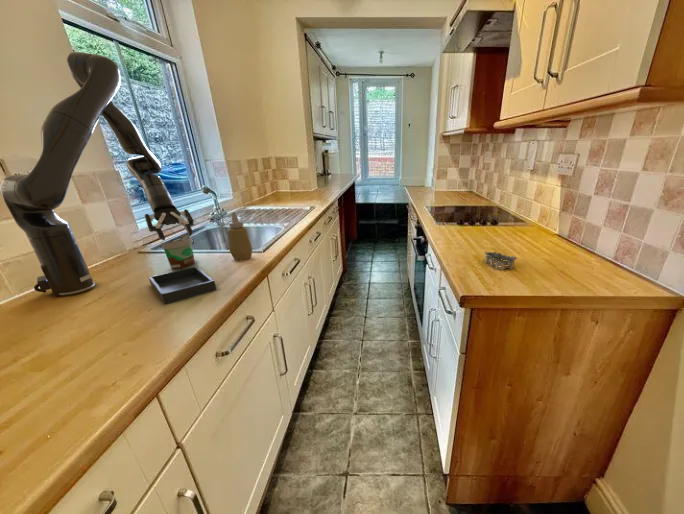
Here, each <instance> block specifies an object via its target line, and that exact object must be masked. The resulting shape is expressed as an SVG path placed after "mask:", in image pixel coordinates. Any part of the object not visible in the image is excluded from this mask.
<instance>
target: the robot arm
mask: <svg viewBox="0 0 684 514" xmlns="http://www.w3.org/2000/svg"><path fill="white" fill-rule="evenodd" d="M66 67H67V69H68V71H69V74H70V75H71V77H72V78H73V80H74V81H75V83H76V84H77V85H78V87H79V88H80V89H78V90H77V91H75V92H74V93H72V94H71V95H69V96H67V97H65V98H64V99H62V100H60V101H58V102H57V103H56V104H55V105H53V106H52V107H51V108H50V110H49V111H48V114H47V115H46V117H45V119H44V121H43V123H42V124H41V127H40V128H41V129H40V142H41V143H40V144H41V152H40V157H39V158H38V160H37V162H36V164H35V166H34V167H33V168H32V170H31V171H30V172H29V173H28V174H23V173H22V174H21V173H20V174H19V173H18V174H11V175H8V176H6V177H4V178H3V179H2V181H1V182H0V195H1V197H2V200H3V202H4V203H5V206H6V208H7V209H8V211H9V213H10V215H11V217H12V218H13V220H14V222H15V224H16V225H17V226H18V227H19V228H20V229H21V230H22V231H23V232H24V233H25V236H26V238H27V239H28V242H29V243H30V245H31V247H32V250H33V252H34V254H35V256H36V258H37V260H38V262H39V265H40V266H39V267H40V269H41V272H42V274H43V275H41V276H37V279H36V284H35V285H34V286H33V289H34V291H36V292H39V293H45V294H46V293H47V292H48V291H49V290H51V292H52V294H53V296H54V297H55V298H57V297H62V296H63V297H65V296H71V295H72V296H73V295H76V294H77V295H78V294H81V293H85V292H87V291H89V290H92V289H93V288H95V287H96V283H95V281H94V279H93V276H92V275H91V272H90V269H89V267H88V264H87V263H86V261H85V257H84V255H83V252H82V250H81V248H80V246H79V244H78V241H77V239H76V237H75V234H74V231H73V229H72V227H71V225H70V223H69V222H68V221H66V220H64V219H63V218H61V217H60V216H59V215H58V214H57V212H55V209H57V208H59V207H60V206H61V205H62V204H63V202H64V200H65V198H66V195H67V193H68V190H69V186H70V183H71V179H72V176H73V174H74V170H75V169H76V167H77V165H78V163H79V161H80V159H81V156H82V154H83V152H84V150H85V148H86V147H87V145H88V143H89V141H90V139H91V137H92V135H93V133H94V130H95V127H96V126H97V124H98V122H99V121H100V118H101V117H102V118H103V119H104V120H105V122H106V123H107V125H108V126H109V128H110V129H111V131H112V133H113V134H114V136H115V138H116V139H117V141H118V143H119V145H120V146H121V148H122V150H123V152H125V154H128V155H133V156H135V155H138V156H135V157H131V158H128V160H127V161H126V168H127V170H128V172H129V173H130V174H131V175H132V176H133V177H134V178H135V179H136V180H137V181H138V182H139V184H140V185H141V187H142V189H143V192H144V194H145V196H146V200H147V203H148V204H149V207H150V209H151V210H152V213H153V214H149V213H145V214H144V220H145V222H146V223H145V224H146V225H147V228H148V231H149V232H150V233H153V232H156V234H157V236H158V238H159V239H160V240H162V241H166V237H165V234H164V232H163V230H162V229H163V228H164V226H170V225H179V226H183V227H184V228H185V230H186V232H187V235H189V236H190V237H192V235H193V229H192V227H193V226H194V225H195V224H194V222H195V220H194V219H193V217H192V215H191V213H190V212H189V210H188V209H184V210H183V211H179V210H178V208H177V206H176V204H175V202H174V200H173V198H172V195H171V194H170V192H169V190H168V189H167V186H166V184H165V182H164V181H163V179H162V178H161V177H160V176H159V174H160V173H162V170H163V167H162V164H161V162H160V160H158V158H157V157H156V156H155V155H154V154H153V152H151V151H150V150H149V148H148V147H147V146H146V144H145V142H144V140H143V138H142V136H141V134H140V133H139V130H138V129H137V127H136V125H135V124H134V123H133V122H132V121H131V119H130V118H129V117H128V116H127V115H126V114H125V113H124V112H122V110H121V109H120V108H118V106H117V105H116V104H115V103H114V102H113V101H112V99H113V98H114V96H115V95H116V94H117V92H118V90H119V89H120V86H121V83H122V73H121V70H120V68H119V66H118V65H117V63H116V62H115V61H114V60H112V59H111V58H109V57H107V56H104V55H100V54H94V53H88V52H82V51H72V52H70V53H69V54H68V55H67V57H66ZM184 218H185V219H184ZM154 220H155V221H157V223H156V225H153V221H154Z"/></svg>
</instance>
